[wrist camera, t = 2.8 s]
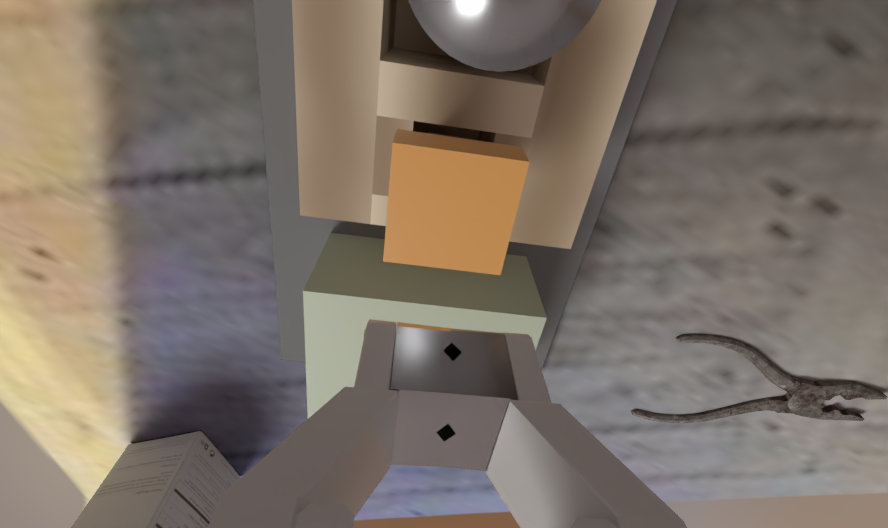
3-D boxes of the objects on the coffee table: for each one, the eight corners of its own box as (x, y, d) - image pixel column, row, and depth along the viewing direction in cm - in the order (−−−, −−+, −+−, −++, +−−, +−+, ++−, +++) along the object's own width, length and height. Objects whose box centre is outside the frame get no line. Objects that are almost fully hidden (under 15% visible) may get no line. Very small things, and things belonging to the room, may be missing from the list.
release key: (505, 117, 17) (529, 161, 12) (485, 208, 19) (500, 275, 14) (405, 102, 17) (392, 142, 12) (397, 196, 19) (383, 261, 14)
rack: (526, 256, 26) (546, 317, 21) (493, 371, 31) (503, 442, 26) (330, 232, 25) (302, 290, 20) (330, 354, 31) (308, 425, 25)
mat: (728, -170, 17) (743, -179, 16) (533, 375, 33) (535, 384, 32) (241, -274, 15) (230, -290, 15) (285, 350, 32) (281, 359, 31)
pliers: (657, 339, 31) (936, 333, 31) (652, 331, 31) (924, 326, 31) (629, 426, 36) (868, 421, 36) (625, 417, 37) (859, 413, 36)
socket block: (636, -128, 17) (720, -183, 12) (543, 196, 24) (570, 249, 19) (332, -189, 16) (281, -278, 11) (330, 168, 23) (300, 215, 18)
